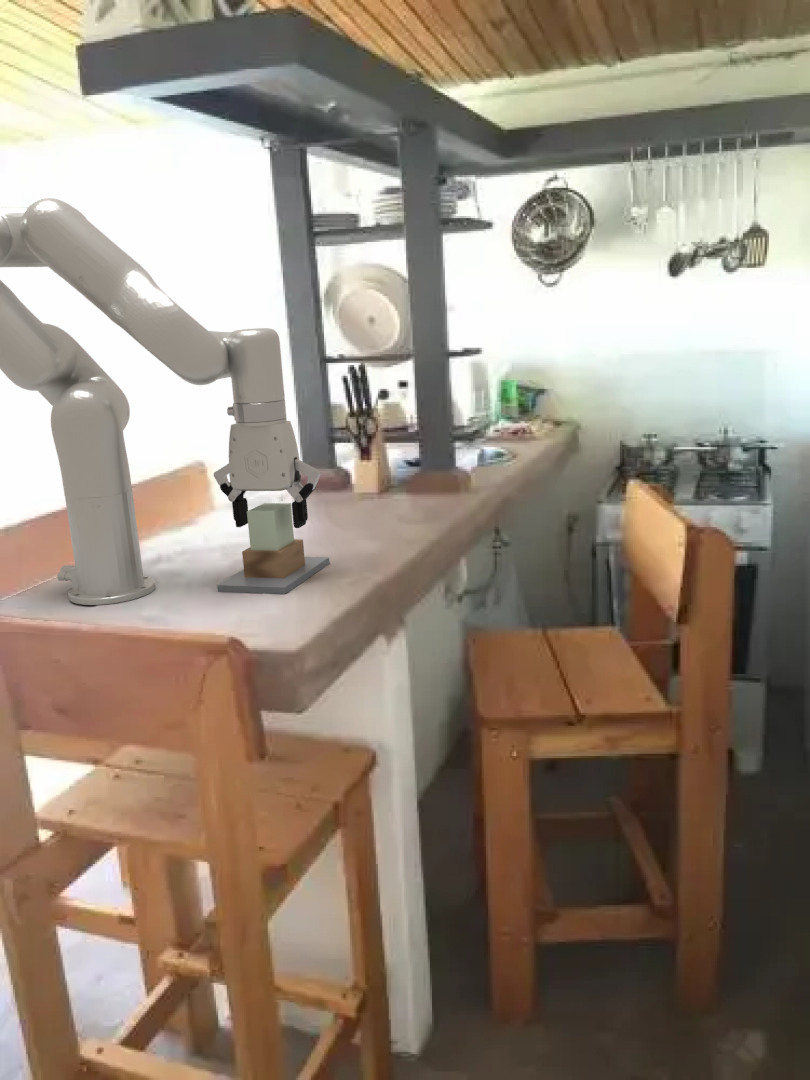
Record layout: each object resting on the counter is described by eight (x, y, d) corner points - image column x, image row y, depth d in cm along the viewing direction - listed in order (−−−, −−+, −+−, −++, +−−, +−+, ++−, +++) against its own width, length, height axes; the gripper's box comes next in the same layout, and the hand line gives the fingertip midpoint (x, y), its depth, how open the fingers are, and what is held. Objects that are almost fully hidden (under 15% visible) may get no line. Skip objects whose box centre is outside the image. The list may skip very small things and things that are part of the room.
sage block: (250, 550, 142) (246, 511, 140) (267, 540, 147) (264, 503, 146) (277, 550, 140) (274, 511, 139) (294, 541, 146) (290, 503, 145)
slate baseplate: (217, 591, 139) (216, 585, 139) (267, 561, 155) (267, 555, 154) (285, 594, 136) (284, 587, 135) (329, 563, 151) (329, 557, 151)
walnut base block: (244, 577, 142) (242, 551, 141) (267, 563, 150) (265, 538, 149) (283, 578, 140) (281, 552, 139) (305, 564, 148) (302, 539, 147)
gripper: (196, 418, 138) (208, 530, 142) (303, 415, 133) (313, 532, 137) (221, 412, 145) (232, 519, 149) (324, 409, 140) (332, 521, 144)
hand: (271, 525), depth 143 cm, fingers open, 9 cm apart
